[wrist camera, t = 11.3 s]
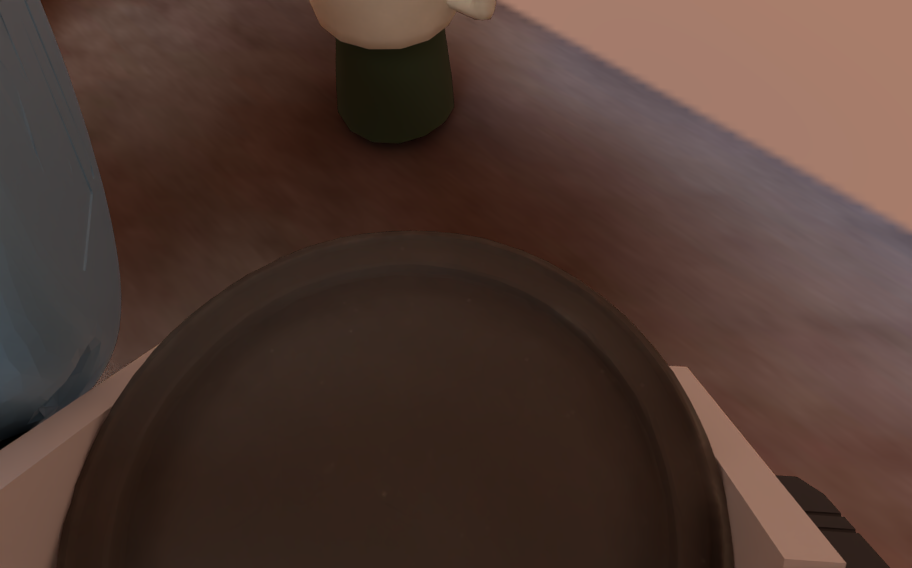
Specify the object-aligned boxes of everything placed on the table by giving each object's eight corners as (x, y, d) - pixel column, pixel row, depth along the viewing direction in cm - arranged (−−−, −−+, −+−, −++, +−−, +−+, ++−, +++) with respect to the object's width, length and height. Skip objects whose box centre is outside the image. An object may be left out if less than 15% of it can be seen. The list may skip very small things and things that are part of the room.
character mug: (515, 110, 35) (553, -146, 23) (444, 197, 32) (448, -49, 20) (356, 33, 37) (320, -230, 26) (276, 107, 34) (197, -155, 23)
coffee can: (254, 733, 20) (-103, 872, 8) (333, 418, 25) (192, 201, 13) (583, 797, 19) (772, 1076, 7) (597, 455, 24) (719, 256, 12)
